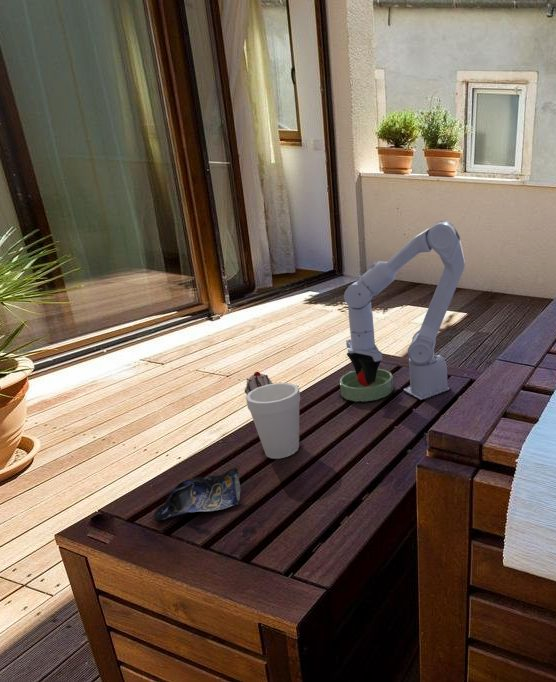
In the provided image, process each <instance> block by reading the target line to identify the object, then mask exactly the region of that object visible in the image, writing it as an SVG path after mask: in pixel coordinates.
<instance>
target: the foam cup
mask: <svg viewBox="0 0 556 682" xmlns="http://www.w3.org/2000/svg"><path fill="white" fill-rule="evenodd" d="M245 400H246V401H245V402H246V405H247V409H248V411H249V413H250V415H251V417H252V421H253V423H254V426H255V429H256V432H257V435H258V437H259V438H258V439H259V440H260V443H261V446H262V449H263V452H264V454H265V456H266V457H267V458H269V459H273V460H280V459H284V458H288V457H290V456H292V455H294V454H295V453H296V452H298V451H299V447H300V401H301V392H300V388H299V387H298V386H297V384H292V383H289V382H276V383H273V384H268V385H264V386H261V387H258V388H256V389H254V390H252V391H250V392H249V393H248V394H246V396H245Z"/></svg>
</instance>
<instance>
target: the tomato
mask: <svg viewBox="0 0 556 682" xmlns="http://www.w3.org/2000/svg"><path fill="white" fill-rule="evenodd" d="M357 380H358V382H359V383H360V384H361V385H362V386H369V385H371V384H372V383H373V382H372V383H369V384H368V383H367V382H366V379H365V374H364V370H363V368H361V371H360V372H359V373H358V376H357Z"/></svg>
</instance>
